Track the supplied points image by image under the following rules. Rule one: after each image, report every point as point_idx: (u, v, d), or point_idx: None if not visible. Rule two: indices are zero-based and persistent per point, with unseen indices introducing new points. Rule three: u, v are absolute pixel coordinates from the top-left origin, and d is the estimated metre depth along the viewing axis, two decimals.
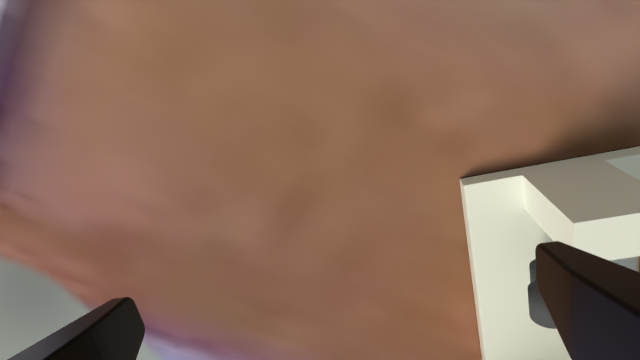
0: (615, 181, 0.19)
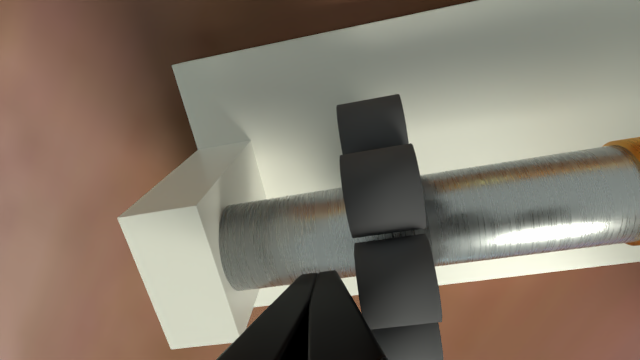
0: None
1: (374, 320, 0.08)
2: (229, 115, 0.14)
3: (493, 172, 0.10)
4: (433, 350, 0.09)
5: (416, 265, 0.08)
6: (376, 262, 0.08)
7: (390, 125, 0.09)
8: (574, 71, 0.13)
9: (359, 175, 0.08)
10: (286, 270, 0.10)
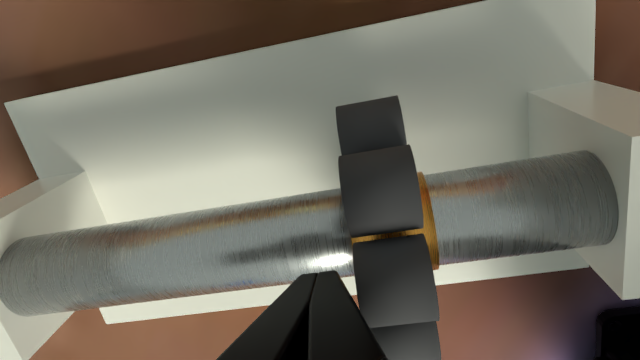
0: None
1: (372, 319, 0.08)
2: (62, 148, 0.16)
3: (234, 212, 0.11)
4: (431, 349, 0.09)
5: (414, 264, 0.08)
6: (374, 261, 0.08)
7: (388, 126, 0.09)
8: None
9: (357, 176, 0.08)
10: (56, 299, 0.12)
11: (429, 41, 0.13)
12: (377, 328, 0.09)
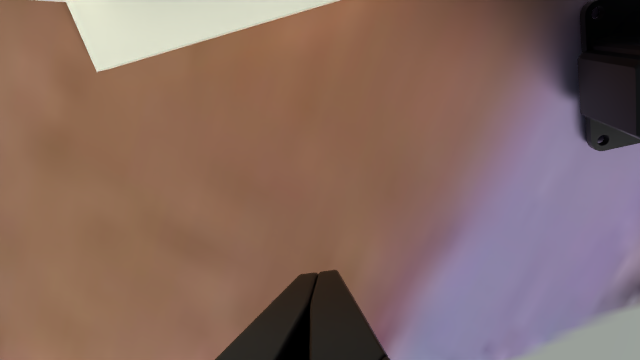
0: None
1: None
2: None
3: None
4: None
5: None
6: None
7: None
8: None
9: None
10: None
11: None
12: None
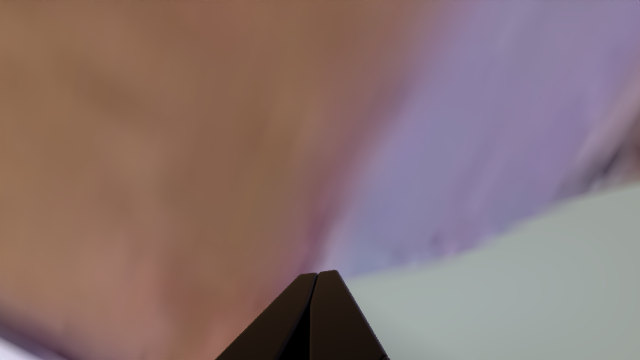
0: None
1: None
2: None
3: None
4: None
5: None
6: None
7: None
8: None
9: None
10: None
11: None
12: None
